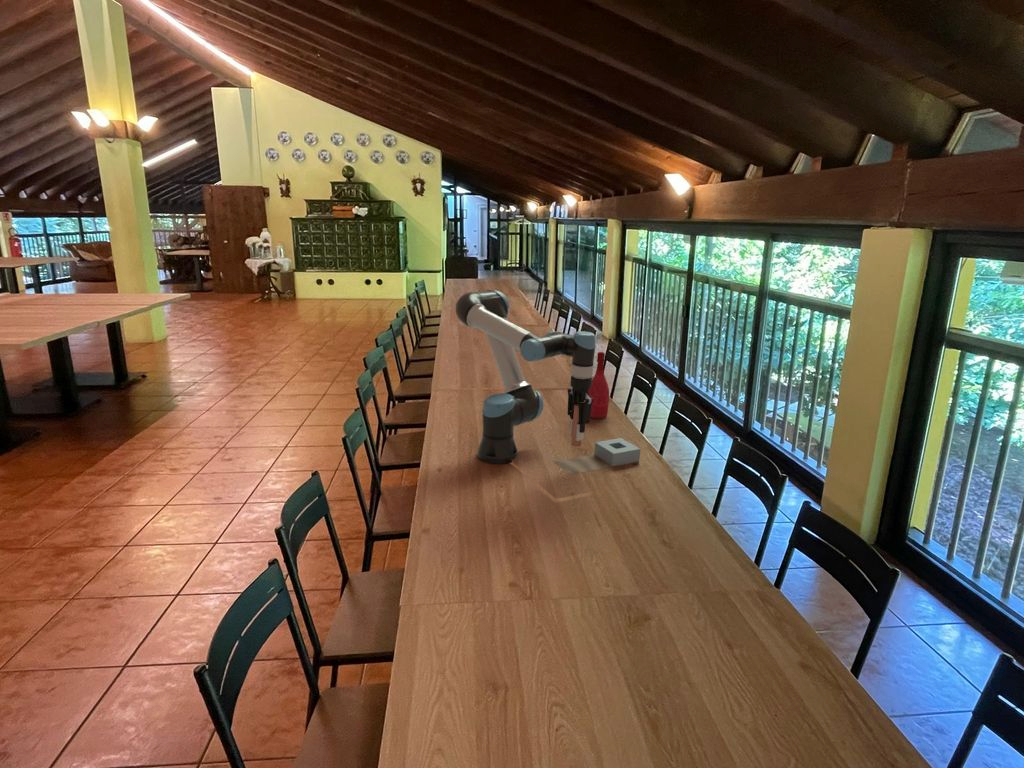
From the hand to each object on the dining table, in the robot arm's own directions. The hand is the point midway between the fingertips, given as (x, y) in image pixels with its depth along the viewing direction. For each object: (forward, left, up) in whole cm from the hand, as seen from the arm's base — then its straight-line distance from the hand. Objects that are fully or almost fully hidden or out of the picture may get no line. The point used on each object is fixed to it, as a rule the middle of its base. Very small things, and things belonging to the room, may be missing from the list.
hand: (576, 437), depth 223 cm
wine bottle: (+40, +45, -12) cm, 62 cm away
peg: (0, 0, -3) cm, 3 cm away
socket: (+18, -1, -12) cm, 22 cm away
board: (+9, -1, -12) cm, 15 cm away
